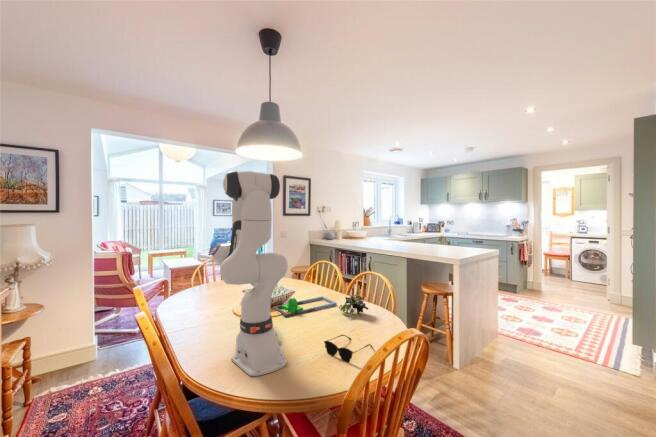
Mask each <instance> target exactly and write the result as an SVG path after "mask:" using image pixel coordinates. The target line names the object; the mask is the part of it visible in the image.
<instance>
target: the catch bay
mask: <svg viewBox="0 0 656 437" xmlns="http://www.w3.org/2000/svg"><path fill="white" fill-rule="evenodd" d="M322 300H323V301H324V302H327V304H323V305H317V306H314V307H312V308H315V311H317V310H322V309H326V308H331V307H336V306H337V302H336V301H333V300H331V299H329V298H327V297H326V296H324V295H322V296H319V297H313V298H309V299H302V300H301V301H302V302H303V304H307V303H312V302H316V301H322Z"/></svg>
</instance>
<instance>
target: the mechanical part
mask: <svg viewBox="0 0 656 437" xmlns="http://www.w3.org/2000/svg"><path fill="white" fill-rule="evenodd" d="M297 302H298V301H297V298H295V297H292V298H289V299H288V303H284V304H285V305H284V304H281V305H282V308H281V310H284V309H285V310H284V311H286V310H288V311H287V312H288V313H292V312H297V311H301V310H304V308H303V307H301V306H299V305H297Z"/></svg>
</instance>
